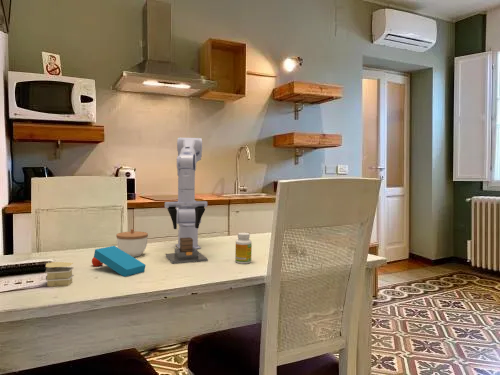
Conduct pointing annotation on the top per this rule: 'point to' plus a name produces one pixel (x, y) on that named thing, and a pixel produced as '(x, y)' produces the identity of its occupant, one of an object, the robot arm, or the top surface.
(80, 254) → the top surface
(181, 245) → the column
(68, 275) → the stacked layers on plate
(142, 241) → the lidded jar
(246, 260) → the supplement bottle
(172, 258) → the socket
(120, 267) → the lever
